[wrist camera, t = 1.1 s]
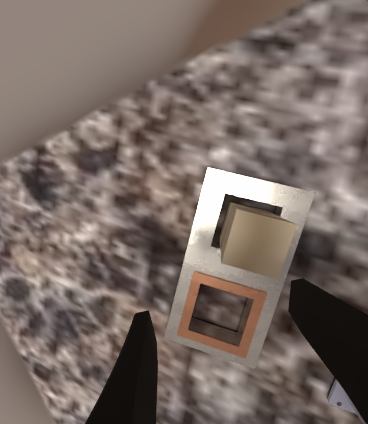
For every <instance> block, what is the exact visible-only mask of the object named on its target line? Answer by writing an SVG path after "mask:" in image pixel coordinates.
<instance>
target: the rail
mask: <svg viewBox="0 0 368 424" xmlns="http://www.w3.org/2000/svg"><path fill="white" fill-rule="evenodd" d="M225 193H226V194H231V195H235V196H239V197H243V198H247V199H251V200H255V201H259V202H263V203H267V204H271V205H275V206H277V207H276V210H275V213H274V214H275V215H278V216H280V217H282V218H284V219H286V220H288V221H291V222H293V223H295V224H297V226H296V229H295V232H294V235H293V238H292V241H291V244H290V247H289V250H288V253H287V256H286V259H285V262H284V265H283V268H282V271H281V274H280V277H279V280H277V279H274V278H271V277H267V276H264V275H260V274H257V273H253V272H250V271H246V270H243V269H240V268H236V267H233V266H229V265H226V264H222V263H221V252H220V244H219V243H216V242H212V239H213V236H214V232H215V228H216V225H217V221H218V217H219V214H220V210H221V206H222V203H223V199H224V195H225ZM314 195H315V192H311V191H307V190H302V189H298V188H294V187H290V186H285V185H281V184H277V183H273V182H268V181H264V180H260V179H256V178H251V177H247V176H243V175H238V174H234V173H230V172H226V171H221V170H217V169H213V168H209V167H208V168H207V172H206V176H205V180H204V184H203V188H202V192H201V195H200V199H199V203H198V207H197V211H196V215H195V219H194V223H193V227H192V231H191V235H190V239H189V242H188V246H187V250H186V254H185V258H184V262H183V266H182V270H181V274H180V278H179V282H178V286H177V290H176V293H175V297H174V301H173V305H172V309H171V313H170V317H169V321H168V325H167V329H166V333H165V337H164V338H166V339H169V340H172V341H175V342H178V343H181V344H183V345H186V346H189V347H192V348H195V349H198V350H201V351H204V352H206V353H209V354H212V355H215V356H218V357H221V358H224V359H227V360H230V361H232V362H235V363H238V364H241V365H244V366H247V367H250V368H253V369H255V367H256V364H257V361H258V358H259V355H260V352H261V349H262V346H263V343H264V341H265V338H266V335H267V332H268V329H269V326H270V323H271V320H272V317H273V314H274V311H275V308H276V306H277V303H278V300H279V297H280V294H281V291H282V288H283V285H284V282H285V279H286V276H287V273H288V270H289V268H290V265H291V262H292V259H293V256H294V253H295V250H296V247H297V244H298V241H299V238H300V235H301V233H302V230H303V227H304V224H305V221H306V218H307V215H308V212H309V209H310V206H311V203H312V200H313V198H314ZM200 284H205V285H208V286H211V287H214V288H218V289H221V290H224V291H228V292H231V293H234V294H237V295H241V296H244V297H247V302H246V305H245V308H244V311H243V314H242V317H241V320H240V324H239V327H238V330H237V332H234V331H231V330H228V329H225V328H222V327H219V326H216V325H213V324H210V323H207V322H204V321H201V320H198V319H195V318H192V317H191V316H192V313H193V309H194V305H195V302H196V298H197V294H198V291H199V287H200Z"/></svg>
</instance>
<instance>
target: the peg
mask: <svg viewBox="0 0 368 424" xmlns="http://www.w3.org/2000/svg"><path fill="white" fill-rule="evenodd" d="M296 226H297V224H295V223H293V222H291V221H288V220H286V219H284V218H282V217H280V216H278V215H275V214H273V213H271V212H269V211H266V210H262V209H258V208H254V207H250V206H246V205H242V204H238V203H235V202H231V201H229V204H228V208H227V211H226V215H225V219H224V222H223V226H222V229H221V233H220V252H221V263H222V264H226V265H229V266H233V267H236V268H240V269H243V270H246V271H250V272H253V273H257V274H260V275H264V276H267V277H271V278H274V279H277V280H279V277H280V274H281V271H282V268H283V265H284V262H285V259H286V256H287V253H288V250H289V247H290V244H291V241H292V238H293V235H294V232H295V229H296Z"/></svg>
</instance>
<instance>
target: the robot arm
mask: <svg viewBox="0 0 368 424" xmlns="http://www.w3.org/2000/svg"><path fill="white" fill-rule="evenodd" d="M288 311H289V313H290V315H291V316H292V318H293V320H294V322H295V323H296V325H297V326H298V328H299V330H300V331H301V333H302V334H303V336H304V337H305V338H306V340H307V341H308V342H309V344H310V345H311V346H312V348H313V349H314V350H315V352H316V353H317V354H318V356H319V357H320V358H321V360H322V361H323V362H324V364H325V365H326V366H327V368H328V369H329V370H330V372H331V373H332V374H333V376H334V377H335V378H336V379H335V382H334V384H333V386H332V389H331V391H330V393H329V396H328V401H329V403H330V404H331V405H332V406H335V407H338V408H341V409H344V410H346V411H349V412H352V413H355V414H357V415H358V417H359V419H360V420H361V422H362V424H368V315H367V314H365V313H363V312H361V311H360V310H358V309H356V308H354V307H352V306H350V305H349V304H347V303H345V302H343V301H342V300H340V299H338V298H336V297H334V296H333V295H331V294H329V293H328V292H326V291H324V290H322V289H321V288H319V287H317V286H315V285H314V284H312V283H310V282H308V281H306V280H305V279H303V278H302V279H298V280H293V281H291V289H290V299H289V309H288ZM157 375H158V359H157V342H156V336H155V333H154V329H153V325H152V321H151V317H150V313H149V311H144V312H139V313H136V314H135V315H134V318H133V321H132V324H131V327H130V329H129V332H128V335H127V337H126V340H125V342H124V345H123V347H122V350H121V352H120V354H119V357H118V359H117V361H116V364H115V366H114V368H113V370H112V372H111V374H110V376H109V378H108V380H107V383H106V385H105V387H104V389H103V391H102V393H101V395H100V397H99V399H98V401H97V403H96V404H95V406H94V408H93V410H92V412H91V414H90V415H89V417H88V419H87V421H86V423H85V424H156V405H157Z"/></svg>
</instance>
